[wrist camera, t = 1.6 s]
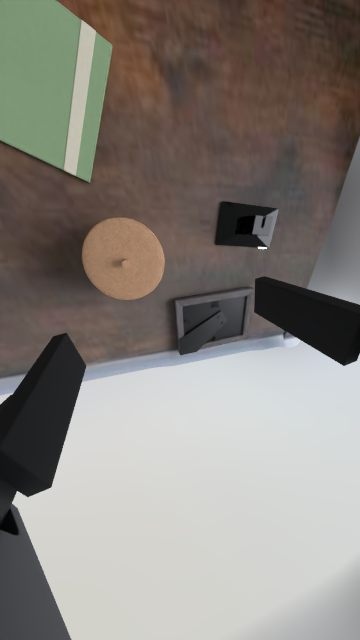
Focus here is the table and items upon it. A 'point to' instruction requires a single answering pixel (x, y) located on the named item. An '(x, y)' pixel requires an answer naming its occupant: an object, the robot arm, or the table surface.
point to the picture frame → (212, 319)
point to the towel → (51, 83)
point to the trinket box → (123, 258)
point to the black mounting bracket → (245, 225)
